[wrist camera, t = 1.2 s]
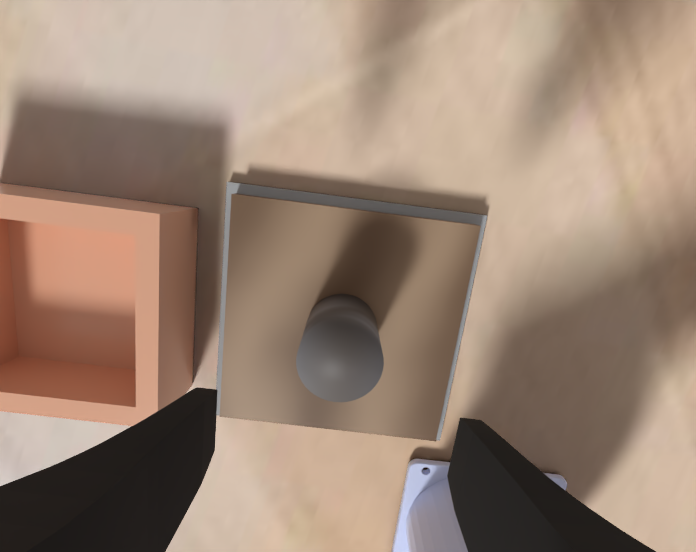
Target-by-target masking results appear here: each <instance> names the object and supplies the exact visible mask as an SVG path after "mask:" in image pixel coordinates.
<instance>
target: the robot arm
mask: <svg viewBox="0 0 696 552" xmlns="http://www.w3.org/2000/svg"><path fill="white" fill-rule="evenodd" d="M217 392H218V390H214V389H205V388H195V389H193V390H191V391H190V392H188V393H186V394H185V395H183V396H181V397H180V398H178V399H177V400H175V401H173V402H172V403H170V404H169V405H167V406H165V407H164V408H162V409H160V410H159V411H157V412H156V413H154V414H152V415H151V416H149V417H147V418H146V419H144V420H142V421H141V422H139V423H137V424H135V425H133V426H132V427H130V428H128V429H126V430H124V431H123V432H121V433H119V434H117V435H115V436H114V437H112V438H110V439H108V440H106V441H104V442H102V443H101V444H99V445H97V446H95V447H93V448H91V449H88V450H86V451H84V452H82V453H80V454H78V455H76V456H74V457H71V458H69V459H67V460H65V461H63V462H60V463H58V464H56V465H53V466H51V467H49V468H46V469H44V470H41V471H38V472H36V473H33V474H31V475H28V476H26V477H23V478H21V479H18V480H15V481H13V482H10V483H8V484H5V485H3V486H0V552H165V551H166V549H167V547H168V545H169V544H170V542H171V540H172V538H173V536H174V534H175V532H176V531H177V529H178V527H179V525H180V523H181V521H182V519H183V518H184V516H185V514H186V512H187V510H188V508H189V506H190V505H191V503H192V501H193V499H194V497H195V495H196V493H197V491H198V489H199V487H200V486H201V484H202V481H203V479H204V476H205V474H206V471H207V469H208V466H209V463H210V461H211V458H212V456H213V453H214V450H215V432H216V412H217ZM424 467H427V468H428V469H427V470H422V469H423V468H424ZM566 488H567V482H566V480H565V479H564V477H563V476H561V475H558V474H550V473H543V472H541V471H540V470H539V469H538V468H537V467H535V466H534V465H533V464H532V463H531V462H529V461H528V460H527V459H526V458H525V457H524V456H522V455H521V454H520V453H519V452H518V451H517V450H516V449H514V448H513V447H512V446H511V445H510V444H509V443H508V442H506V441H505V440H504V439H503V438H502V437H501V436H499V435H498V434H497V433H496V432H495V431H494V430H492V429H491V428H490V427H489V426H488V425H486V424H485V423H484V422H482V421H481V420H475V419H467V418H460V421H459V425H458V430H457V434H456V439H455V443H454V448H453V452H452V457H451V461H450V462H443V461H434V460H425V459H413V460H411V461H410V462H409V464H408V468H407V473H406V479H405V484H404V489H403V494H402V499H401V504H400V510H399V515H398V520H397V525H396V530H395V536H394V541H393V546H392V551H391V552H656V551H654V550H652V549H651V548H649V547H647V546H646V545H644V544H642V543H641V542H639V541H637V540H636V539H634V538H633V537H631V536H630V535H628V534H626V533H625V532H623V531H622V530H620V529H619V528H617V527H616V526H614V525H613V524H611V523H610V522H608V521H607V520H605V519H604V518H602V517H601V516H600V515H598V514H597V513H595V512H594V511H592V510H591V509H589V508H588V507H587V506H585V505H584V504H582V503H581V502H580V501H578V500H577V499H576V498H574V497H573V496H572V495H570V494H569V493H568V492H567V491H566Z"/></svg>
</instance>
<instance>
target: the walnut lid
mask: <svg viewBox="0 0 696 552" xmlns="http://www.w3.org/2000/svg"><path fill="white" fill-rule="evenodd" d="M480 228H481V226H479V225H476V224H469V223H461V222H453V221H445V220H438V219H430V218H422V217H415V216H407V215H399V214H391V213H384V212H376V211H368V210H360V209H353V208H345V207H337V206H329V205H322V204H314V203H306V202H299V201H291V200H283V199H275V198H268V197H260V196H252V195H244V194H237V193H236V194H231V211H230V230H229V249H228V267H227V286H226V305H225V324H224V342H223V361H222V380H221V399H220V417H228V418H237V419H245V420H254V421H263V422H272V423H281V424H289V425H298V426H307V427H316V428H325V429H333V430H342V431H351V432H360V433H369V434H377V435H386V436H395V437H404V438H413V439H421V440H430V441H436V438H437V433H438V429H439V424H440V419H441V414H442V409H443V405H444V400H445V395H446V390H447V386H448V381H449V376H450V371H451V366H452V362H453V357H454V352H455V347H456V343H457V338H458V333H459V328H460V323H461V319H462V314H463V309H464V304H465V300H466V295H467V290H468V285H469V280H470V276H471V271H472V266H473V261H474V257H475V252H476V247H477V242H478V237H479V233H480Z"/></svg>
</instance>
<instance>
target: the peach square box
mask: <svg viewBox="0 0 696 552" xmlns="http://www.w3.org/2000/svg"><path fill="white" fill-rule="evenodd" d="M197 230H198V208H193V207H185V206H177V205H169V204H162V203H154V202H146V201H138V200H130V199H122V198H115V197H107V196H99V195H91V194H83V193H76V192H68V191H60V190H52V189H44V188H36V187H29V186H21V185H13V184H5V183H0V411H4V412H13V413H22V414H31V415H40V416H48V417H57V418H66V419H75V420H84V421H93V422H102V423H111V424H120V425H129V426H133V425H135V424H137V423H139V422H141V421H142V420H144V419H146V418H147V417H149V416H151V415H152V414H154V413H156V412H157V411H159V410H160V409H162V408H164V407H165V406H167V405H169V404H170V403H172V402H173V401H175V400H177V399H178V398H180V397H181V396H183V395H185V393H186V392H187V391H188V389H189V388H190V387H191V386H192V380H193V350H194V320H195V290H196V260H197Z"/></svg>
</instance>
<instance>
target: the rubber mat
mask: <svg viewBox="0 0 696 552" xmlns="http://www.w3.org/2000/svg"><path fill="white" fill-rule="evenodd" d="M236 193H237V194H244V195H252V196H260V197H268V198H275V199H283V200H291V201H299V202H306V203H314V204H322V205H329V206H337V207H345V208H353V209H360V210H368V211H376V212H384V213H391V214H399V215H407V216H415V217H422V218H430V219H438V220H445V221H453V222H461V223H469V224H476V225H479V226H481V228H480V233H479V237H478V242H477V247H476V252H475V257H474V261H473V266H472V271H471V276H470V280H469V285H468V290H467V295H466V300H465V304H464V309H463V314H462V319H461V323H460V328H459V333H458V338H457V343H456V347H455V352H454V357H453V362H452V366H451V371H450V376H449V381H448V386H447V390H446V395H445V400H444V405H443V409H442V414H441V419H440V424H439V429H438V433H437V438H436V440H440V437H441V432H442V427H443V423H444V418H445V413H446V408H447V404H448V399H449V394H450V390H451V385H452V380H453V375H454V371H455V366H456V361H457V357H458V352H459V347H460V342H461V338H462V333H463V328H464V324H465V319H466V314H467V309H468V305H469V300H470V295H471V291H472V286H473V281H474V276H475V272H476V267H477V262H478V257H479V253H480V248H481V243H482V239H483V234H484V229H485V224H486V220H487V215H480V214H473V213H465V212H457V211H450V210H442V209H434V208H426V207H419V206H411V205H403V204H396V203H388V202H380V201H373V200H365V199H357V198H350V197H342V196H334V195H326V194H319V193H311V192H303V191H296V190H288V189H280V188H273V187H265V186H257V185H250V184H242V183H234V182H227V187H226V207H225V227H224V247H223V267H222V287H221V307H220V326H219V346H218V366H217V386H216V390H218V392H217V412H216V415H220V399H221V380H222V361H223V342H224V324H225V305H226V286H227V267H228V249H229V230H230V211H231V194H236Z"/></svg>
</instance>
